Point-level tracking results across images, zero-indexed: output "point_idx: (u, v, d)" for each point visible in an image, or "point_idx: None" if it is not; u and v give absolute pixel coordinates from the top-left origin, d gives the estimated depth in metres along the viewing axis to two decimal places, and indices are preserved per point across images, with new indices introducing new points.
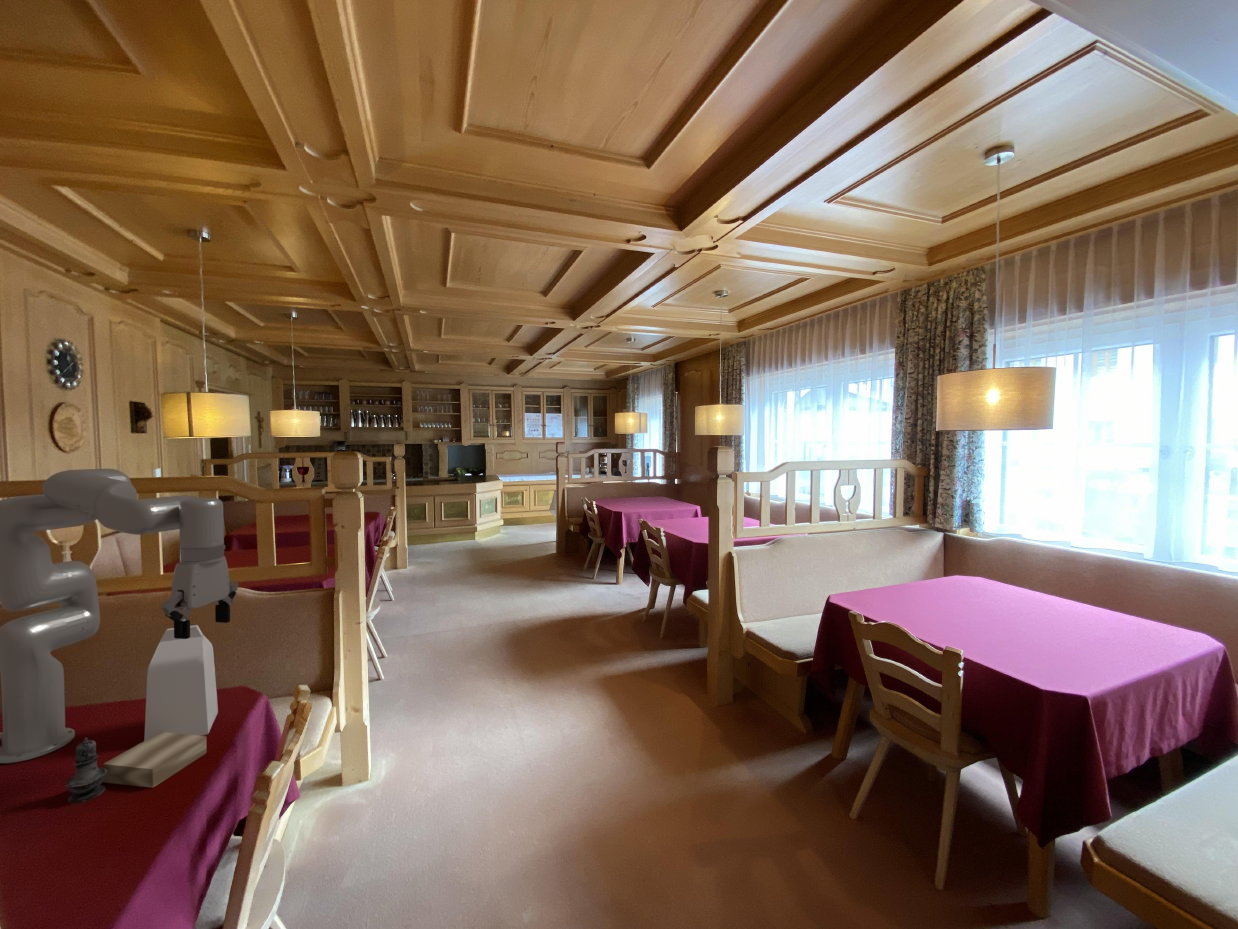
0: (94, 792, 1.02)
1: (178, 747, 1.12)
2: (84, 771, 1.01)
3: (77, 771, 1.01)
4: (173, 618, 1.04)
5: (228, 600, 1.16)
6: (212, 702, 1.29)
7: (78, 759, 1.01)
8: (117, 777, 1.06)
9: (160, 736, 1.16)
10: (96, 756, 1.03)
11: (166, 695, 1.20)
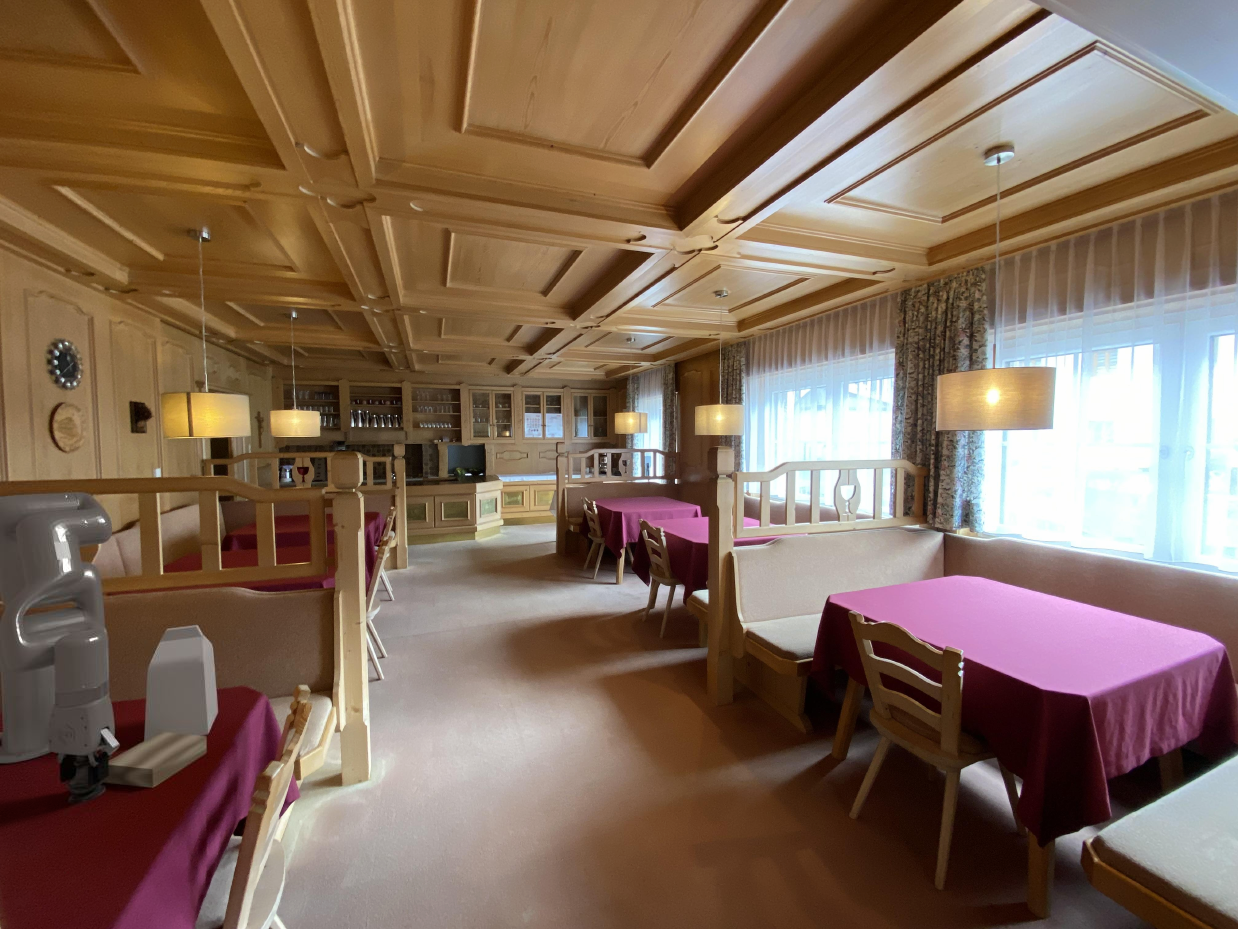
0: (95, 792, 1.02)
1: (178, 747, 1.12)
2: (85, 771, 1.01)
3: (78, 771, 1.01)
4: (106, 758, 1.01)
5: None
6: (212, 702, 1.29)
7: (79, 759, 1.01)
8: (117, 777, 1.06)
9: (160, 736, 1.16)
10: (97, 756, 1.03)
11: (166, 695, 1.20)
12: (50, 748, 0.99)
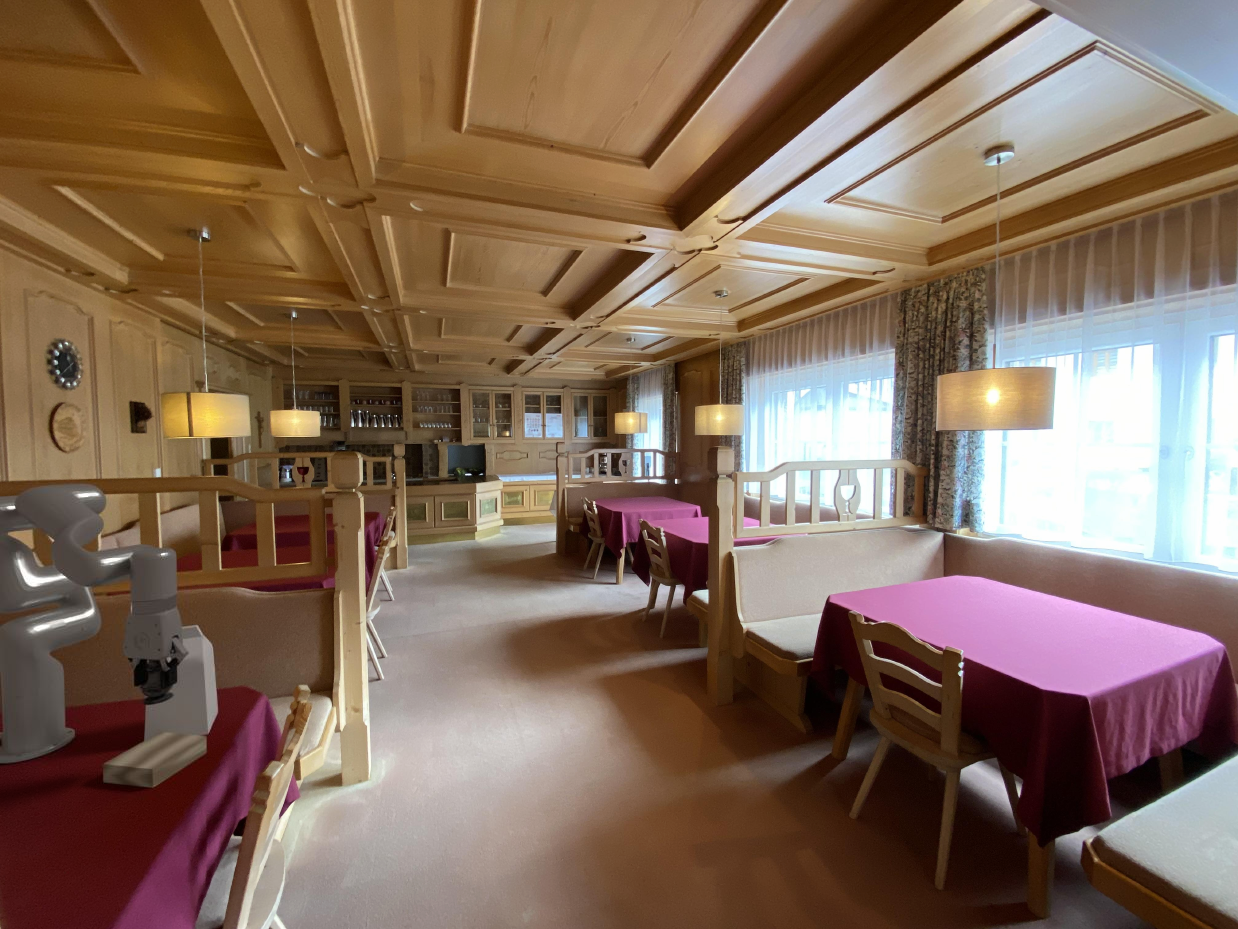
0: (165, 697, 1.11)
1: (178, 747, 1.12)
2: (157, 676, 1.10)
3: (150, 676, 1.10)
4: (176, 664, 1.10)
5: None
6: (212, 702, 1.29)
7: (151, 665, 1.10)
8: (117, 777, 1.06)
9: (160, 736, 1.16)
10: None
11: None
12: (126, 654, 1.08)
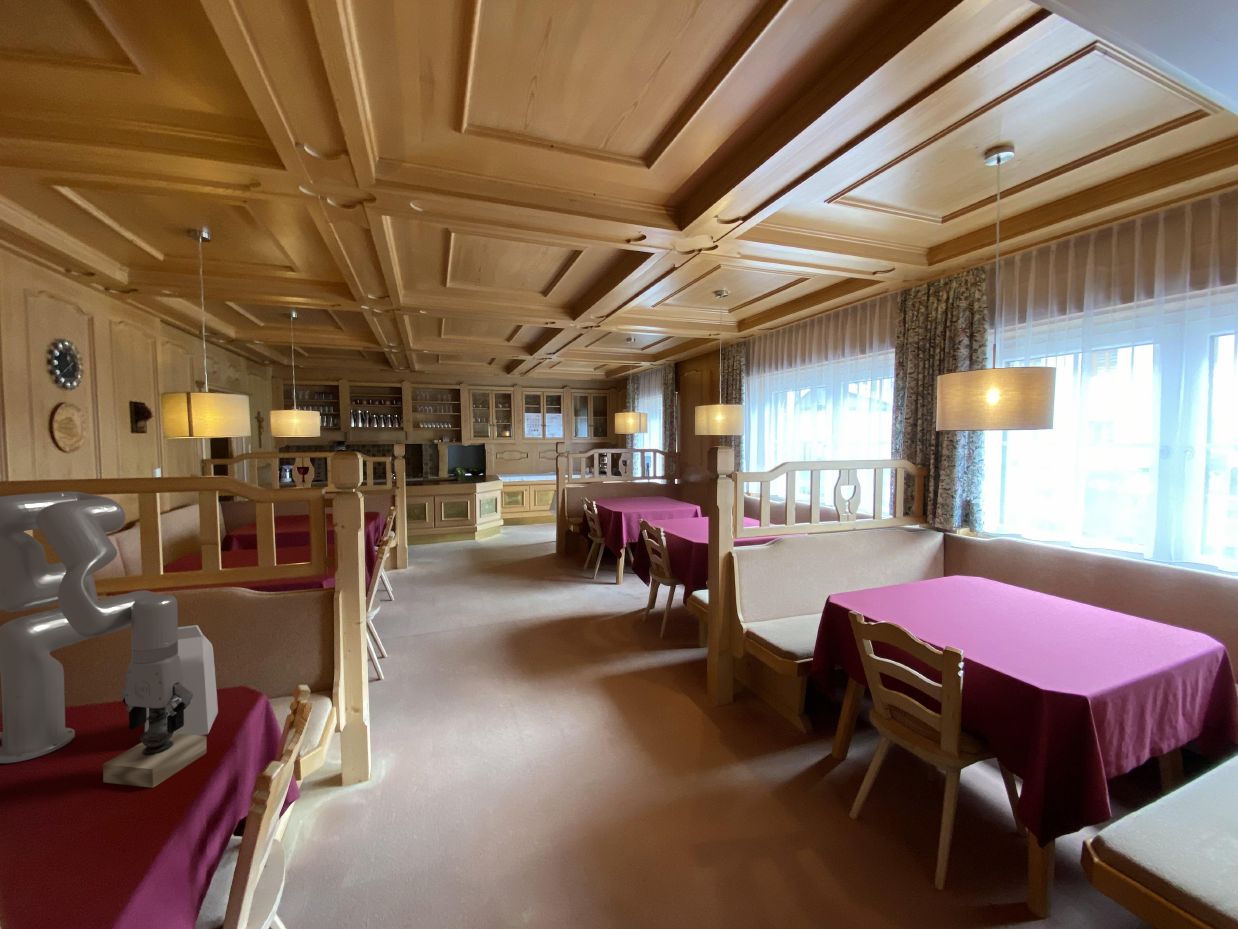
0: (165, 746, 1.12)
1: (178, 747, 1.12)
2: (157, 726, 1.10)
3: (150, 726, 1.10)
4: (183, 708, 1.10)
5: None
6: (212, 702, 1.29)
7: (151, 715, 1.10)
8: (117, 777, 1.06)
9: None
10: (166, 713, 1.12)
11: None
12: (127, 702, 1.09)
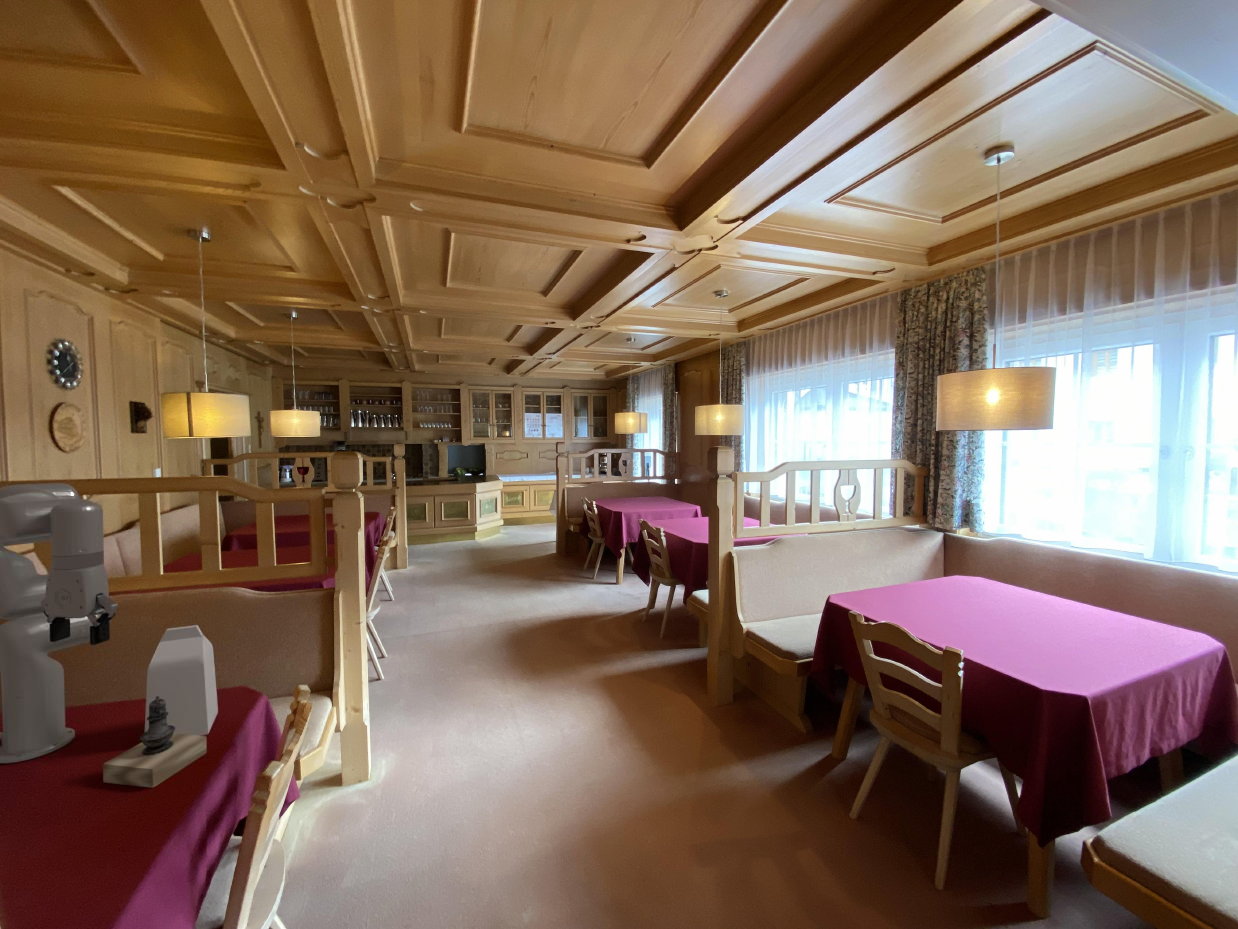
0: (165, 746, 1.12)
1: (178, 747, 1.12)
2: (157, 726, 1.10)
3: (150, 726, 1.10)
4: (107, 620, 1.05)
5: None
6: (212, 702, 1.29)
7: (151, 715, 1.10)
8: (117, 777, 1.06)
9: None
10: (166, 713, 1.12)
11: (166, 695, 1.20)
12: (47, 612, 1.03)
